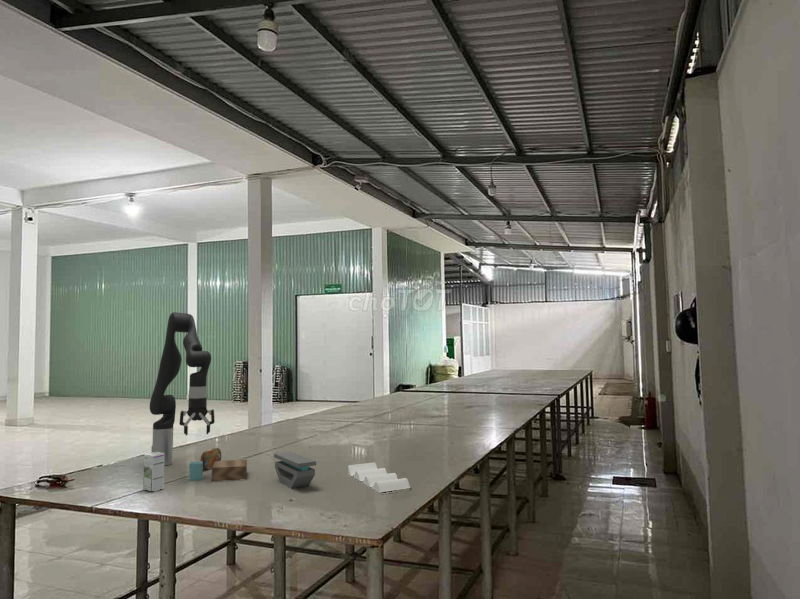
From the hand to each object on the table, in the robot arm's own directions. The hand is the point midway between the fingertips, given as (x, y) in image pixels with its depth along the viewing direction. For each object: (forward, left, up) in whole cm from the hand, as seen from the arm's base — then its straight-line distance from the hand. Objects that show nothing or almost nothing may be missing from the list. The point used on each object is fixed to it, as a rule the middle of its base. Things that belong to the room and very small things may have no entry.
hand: (196, 434), depth 242 cm
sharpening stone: (+40, -21, -19) cm, 49 cm away
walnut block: (+14, 0, -19) cm, 24 cm away
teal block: (0, 0, -19) cm, 19 cm away
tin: (+5, +22, -19) cm, 30 cm away
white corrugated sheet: (+74, -29, -20) cm, 82 cm away
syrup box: (-15, -14, -19) cm, 28 cm away
